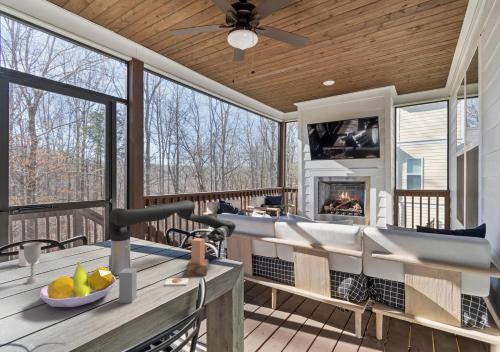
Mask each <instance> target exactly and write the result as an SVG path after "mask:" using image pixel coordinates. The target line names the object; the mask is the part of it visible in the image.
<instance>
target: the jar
mask: <svg viewBox="0 0 500 352" xmlns="http://www.w3.org/2000/svg"><path fill="white" fill-rule="evenodd" d="M34 242H36V241H35V240H33V241H26V242H25V241H24V242H21V243H19V249H18V267H23V268H27V267H31V264H29V263H28V262H27V261H26V259H25V257H24V247H23V245H24V244H27V243H34ZM39 262H40V259H38V260H37V262H36V263H34V266H36V265H38V263H39Z"/></svg>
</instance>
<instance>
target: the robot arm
mask: <svg viewBox="0 0 500 352" xmlns="http://www.w3.org/2000/svg"><path fill="white" fill-rule="evenodd" d="M195 208H196V204H195V202H193V201H192V200H188V199H185V200H180V201H175V202H169V203H161V204H153V205H148V206H146V207H144V208H140V209H139V208H138V209H137V208H136V209H128V208H121V207H120V208H119V207H118V208H117V207H116V208H114V209H112V210H111V211H110V213H109V214H108V234H109V236H110V254H109V256H108V270H109V271H110V272H111V273H112V275H114V276H119V273H120V272H121V271H122V270H123V269H126V268H131V233H130V232H129V230H128V227H129V226H133V225H137V224H141V223H152V222H159V221H164V220H166V219H168V218H170V217H172V216H174V215H175V214H176V215H177V216H178V217H179V218H180V219H183V220H186V221H189V222H194V223H198V224H202V225H205V226H207V227H210V228H212V229H213V230H211V232H210V233H209V234H208V233H207V234H206V233H204V234H201V235H199V237H198V238H200V239H205V242H209V241H212V243H213V244H216V243H218V242H220V243H222V242H224V241H225V240H226V238H230V237H231V236H232V235H233V233H234V231H235V229H236V224H235V222H233V221H230V220H224V219H221V218H218V217H216V216H213V215H207V214H206V215H201V214H200V215H198V214H195V213H194V211H195Z"/></svg>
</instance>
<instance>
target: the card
mask: <svg viewBox="0 0 500 352" xmlns="http://www.w3.org/2000/svg"><path fill="white" fill-rule="evenodd" d="M189 280H190V278H189V277H175V278H173V277H172V278H171V277H170V278H168V277H167V279H166V280H165V282H164V284H163V286H164V287H171V286H172V287H174V286H175V287H176V286H177V287H178V286H181V287H182V286H184V287H185V286H187V285H188V282H189Z"/></svg>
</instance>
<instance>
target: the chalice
mask: <svg viewBox="0 0 500 352" xmlns="http://www.w3.org/2000/svg"><path fill="white" fill-rule="evenodd" d="M42 244H43V242H42V241H41V242H40V241H35V242H34V243H27V244H24V245H23V247H24V257H25V259H26V261H27V262H28V263H29V264H31V266H30V272H29V273H30V276H29V277H28V278H27V280H26V282H25V285H33V284H34V285H35V284H36V283H37V284H38V283H39V282H40V280H39V278H38V276H35V265H34V263H36V262H37V260H38V259H39V258H40V256H41V254H42V250H41V249H42ZM39 260H40V259H39Z"/></svg>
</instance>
